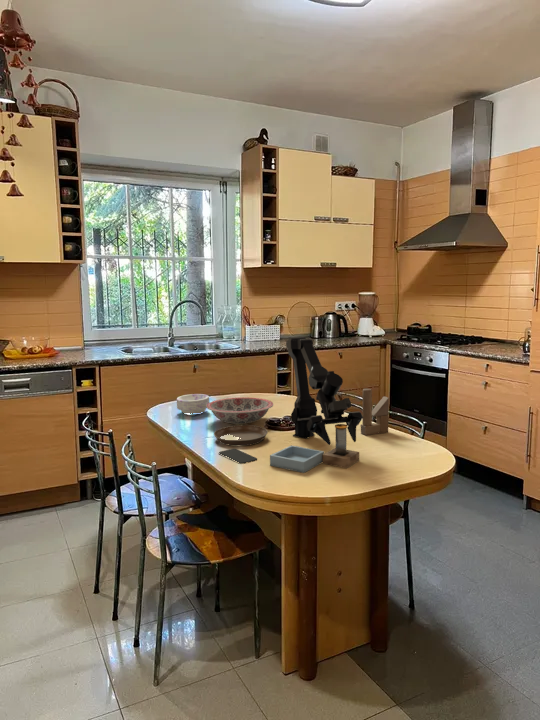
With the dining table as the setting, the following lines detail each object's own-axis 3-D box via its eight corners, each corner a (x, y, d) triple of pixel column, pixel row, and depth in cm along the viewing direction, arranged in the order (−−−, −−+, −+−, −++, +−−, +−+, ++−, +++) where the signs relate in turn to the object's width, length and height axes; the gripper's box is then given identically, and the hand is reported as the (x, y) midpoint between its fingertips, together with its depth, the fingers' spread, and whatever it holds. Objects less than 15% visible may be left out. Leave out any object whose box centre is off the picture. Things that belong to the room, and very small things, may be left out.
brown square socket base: (322, 463, 176) (322, 454, 176) (335, 456, 183) (335, 447, 183) (346, 468, 171) (346, 459, 170) (359, 460, 178) (359, 451, 178)
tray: (270, 465, 175) (269, 455, 174) (291, 455, 185) (291, 445, 185) (303, 472, 167) (303, 462, 167) (324, 461, 178) (324, 451, 177)
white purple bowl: (170, 415, 246) (170, 399, 245) (188, 408, 260) (187, 392, 258) (199, 418, 240) (198, 401, 239) (215, 411, 254) (215, 394, 253)
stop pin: (332, 462, 177) (332, 426, 175) (338, 459, 180) (338, 423, 178) (343, 464, 174) (343, 427, 173) (349, 461, 178) (349, 425, 176)
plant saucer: (249, 451, 192) (249, 442, 191) (203, 443, 202) (203, 435, 201) (277, 436, 209) (277, 428, 209) (233, 430, 219) (233, 422, 219)
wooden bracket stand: (388, 432, 211) (389, 388, 209) (365, 435, 207) (365, 390, 205) (383, 430, 215) (383, 386, 212) (360, 433, 211) (360, 388, 208)
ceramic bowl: (194, 427, 224) (193, 409, 223) (225, 412, 251) (225, 395, 250) (257, 433, 213) (257, 414, 212) (283, 416, 240) (283, 399, 239)
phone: (240, 463, 177) (217, 452, 189) (240, 465, 177) (217, 454, 189) (258, 458, 181) (234, 448, 193) (258, 461, 181) (234, 450, 193)
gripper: (309, 392, 175) (323, 433, 166) (360, 388, 181) (376, 427, 172) (301, 410, 183) (313, 450, 175) (349, 406, 189) (364, 444, 180)
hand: (342, 442), depth 175 cm, fingers open, 9 cm apart
